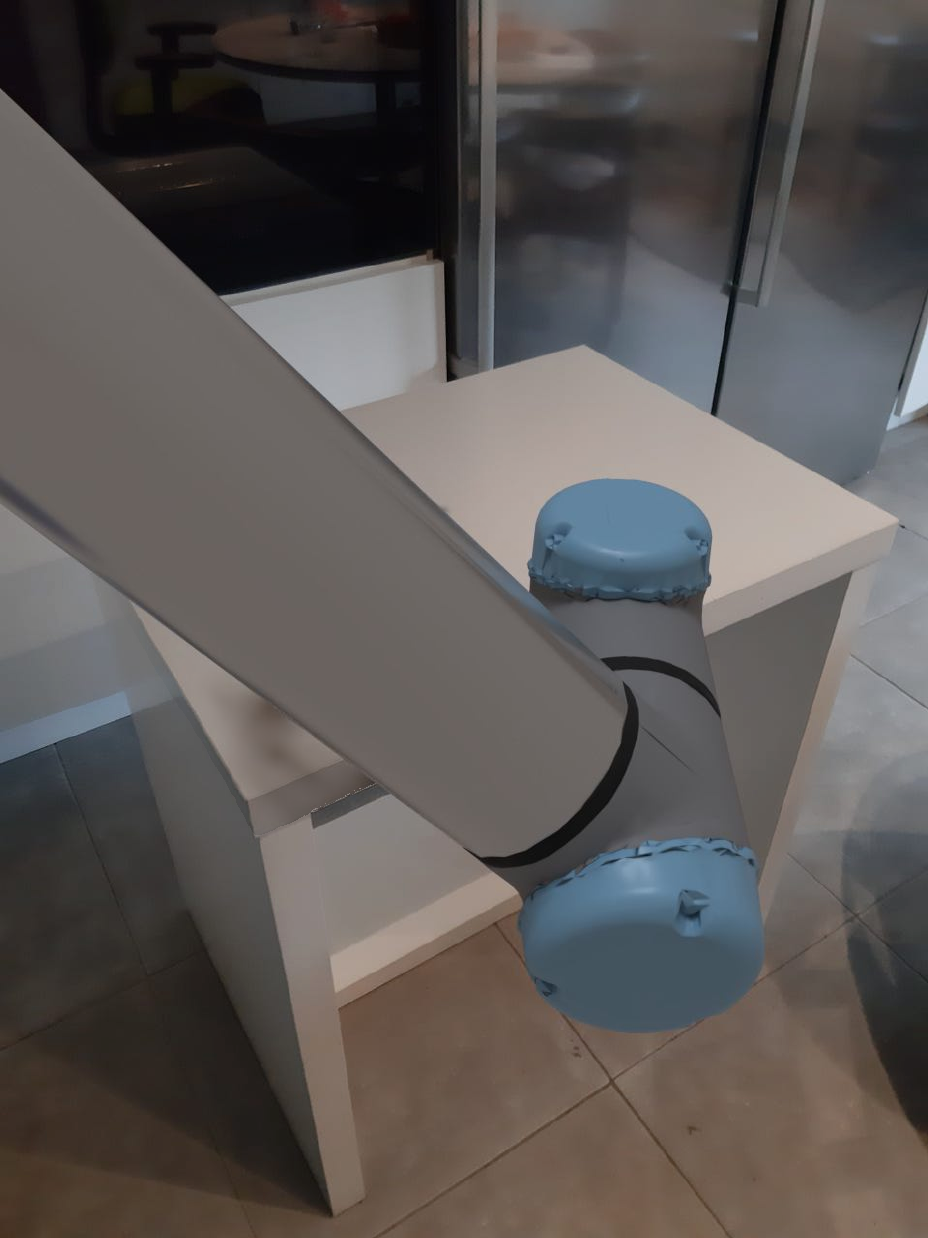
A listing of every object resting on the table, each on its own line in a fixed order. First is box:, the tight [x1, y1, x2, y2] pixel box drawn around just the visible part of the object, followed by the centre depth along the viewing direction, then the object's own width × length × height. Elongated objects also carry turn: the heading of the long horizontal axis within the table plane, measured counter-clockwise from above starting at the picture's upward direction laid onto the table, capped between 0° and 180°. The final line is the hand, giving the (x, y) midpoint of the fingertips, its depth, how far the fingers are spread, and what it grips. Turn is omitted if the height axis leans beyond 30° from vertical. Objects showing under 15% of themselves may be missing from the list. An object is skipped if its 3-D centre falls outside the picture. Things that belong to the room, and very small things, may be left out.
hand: (240, 518), depth 69 cm, fingers closed on pill bottle, 5 cm apart
